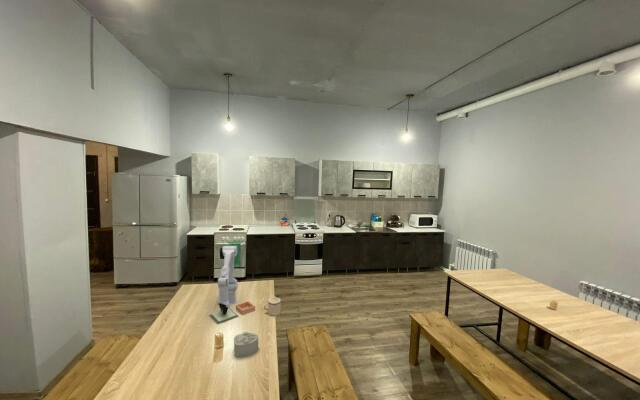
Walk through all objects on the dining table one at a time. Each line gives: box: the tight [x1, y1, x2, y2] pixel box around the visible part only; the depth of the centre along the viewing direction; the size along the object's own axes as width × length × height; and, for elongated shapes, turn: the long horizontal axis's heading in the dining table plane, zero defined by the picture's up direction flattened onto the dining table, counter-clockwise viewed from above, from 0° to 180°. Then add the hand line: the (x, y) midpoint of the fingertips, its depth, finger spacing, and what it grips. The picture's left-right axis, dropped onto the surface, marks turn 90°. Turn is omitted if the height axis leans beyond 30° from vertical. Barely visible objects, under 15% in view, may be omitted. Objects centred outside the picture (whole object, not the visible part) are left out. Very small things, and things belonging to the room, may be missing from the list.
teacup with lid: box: [263, 296, 282, 316], centre depth 192 cm, size 12×9×12 cm
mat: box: [208, 307, 240, 325], centre depth 186 cm, size 15×15×1 cm
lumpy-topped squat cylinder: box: [233, 331, 259, 358], centre depth 151 cm, size 10×13×9 cm
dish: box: [235, 300, 256, 316], centre depth 194 cm, size 10×10×4 cm
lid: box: [211, 307, 237, 322], centre depth 185 cm, size 12×12×5 cm
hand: (223, 313), depth 186 cm, fingers closed on lid, 3 cm apart
